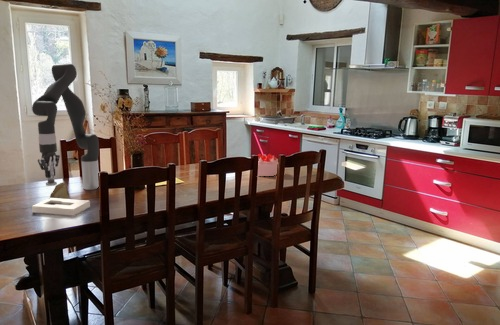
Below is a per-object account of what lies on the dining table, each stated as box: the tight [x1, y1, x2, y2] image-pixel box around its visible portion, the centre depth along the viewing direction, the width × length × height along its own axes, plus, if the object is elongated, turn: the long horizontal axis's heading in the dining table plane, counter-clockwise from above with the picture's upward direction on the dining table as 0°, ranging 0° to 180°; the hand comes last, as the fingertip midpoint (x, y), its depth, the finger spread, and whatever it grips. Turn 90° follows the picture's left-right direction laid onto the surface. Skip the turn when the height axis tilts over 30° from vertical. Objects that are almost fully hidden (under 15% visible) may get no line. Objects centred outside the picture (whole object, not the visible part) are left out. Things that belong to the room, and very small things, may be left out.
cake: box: [257, 153, 279, 177], centre depth 277 cm, size 20×20×14 cm
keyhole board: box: [31, 197, 91, 217], centre depth 191 cm, size 14×22×4 cm, turn 81°
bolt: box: [45, 161, 58, 187], centre depth 188 cm, size 5×5×12 cm
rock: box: [49, 182, 70, 199], centre depth 207 cm, size 11×9×10 cm
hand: (50, 176), depth 189 cm, fingers closed on bolt, 3 cm apart
